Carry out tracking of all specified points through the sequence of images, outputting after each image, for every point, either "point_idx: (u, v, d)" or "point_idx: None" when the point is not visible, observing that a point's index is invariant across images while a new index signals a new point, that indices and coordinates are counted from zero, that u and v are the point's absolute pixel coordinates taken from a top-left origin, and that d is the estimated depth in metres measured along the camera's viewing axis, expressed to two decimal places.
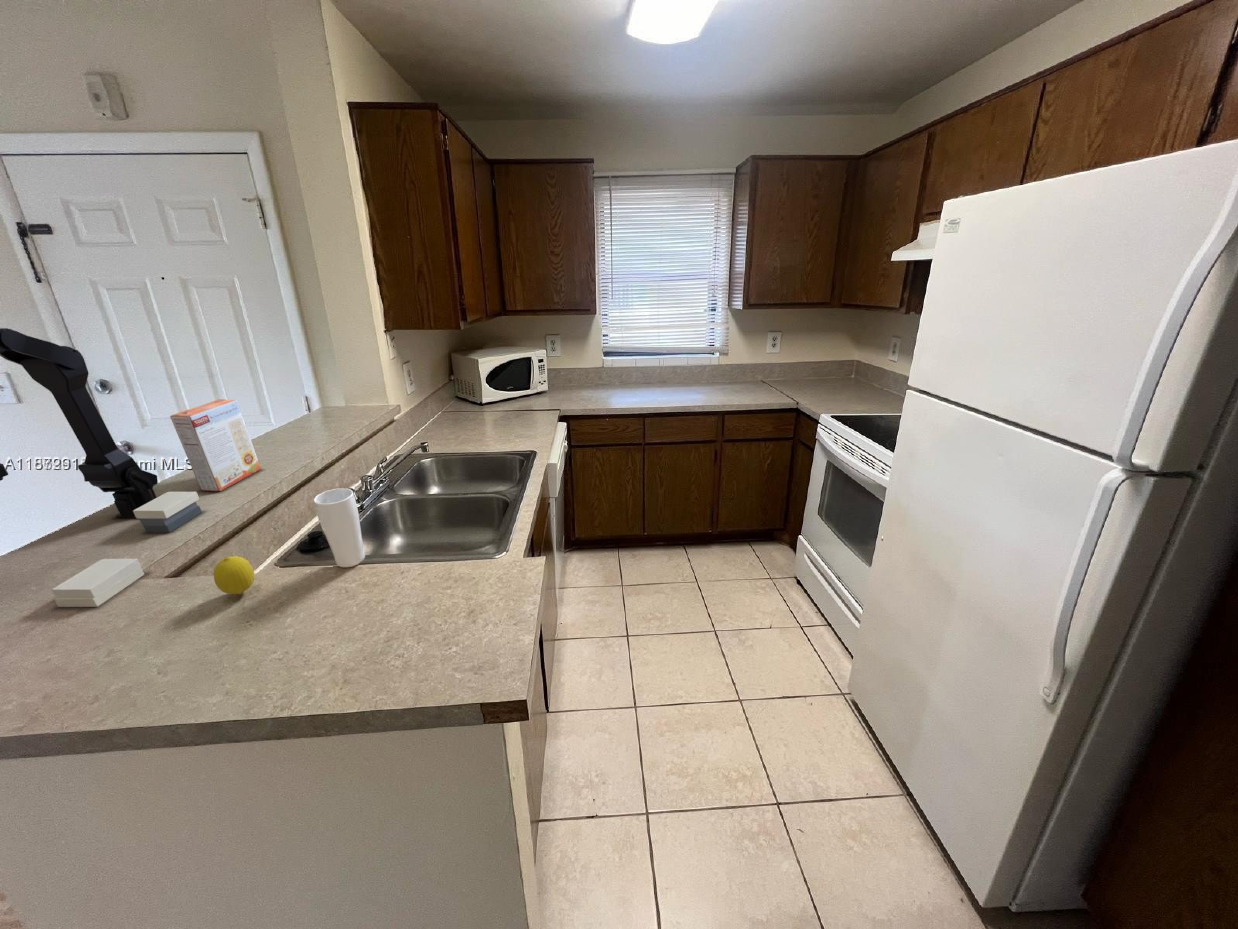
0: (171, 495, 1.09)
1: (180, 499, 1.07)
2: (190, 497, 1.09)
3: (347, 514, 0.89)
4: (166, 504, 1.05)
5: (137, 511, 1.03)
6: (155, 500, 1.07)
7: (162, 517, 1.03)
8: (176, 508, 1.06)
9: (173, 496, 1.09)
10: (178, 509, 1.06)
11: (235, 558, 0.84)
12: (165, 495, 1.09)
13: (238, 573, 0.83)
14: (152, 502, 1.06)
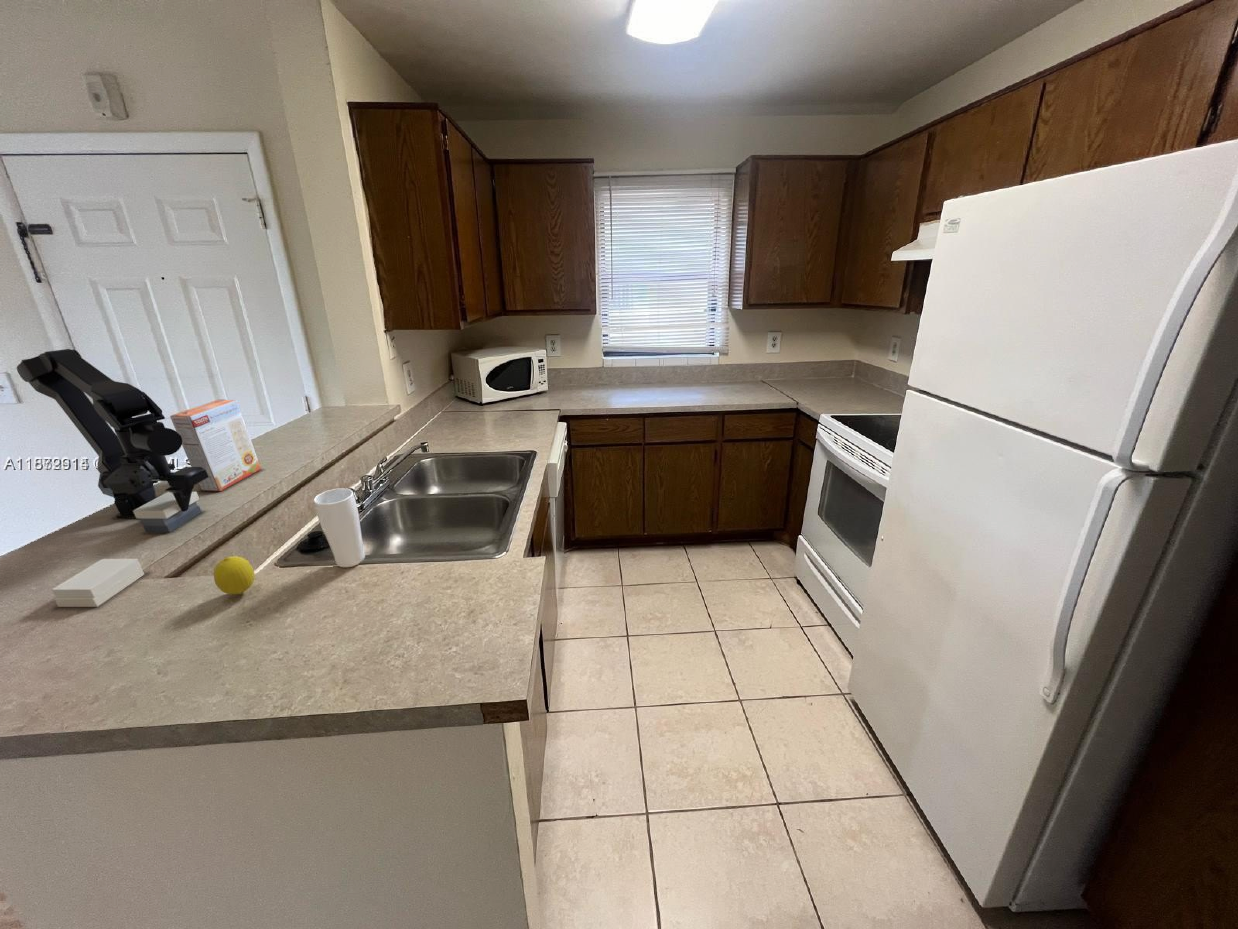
0: (171, 495, 1.09)
1: None
2: None
3: (347, 514, 0.89)
4: (166, 504, 1.05)
5: (137, 511, 1.03)
6: (155, 500, 1.07)
7: (162, 517, 1.03)
8: (176, 508, 1.06)
9: (173, 496, 1.09)
10: (178, 509, 1.06)
11: (235, 558, 0.84)
12: (165, 495, 1.09)
13: (238, 573, 0.83)
14: (152, 502, 1.06)
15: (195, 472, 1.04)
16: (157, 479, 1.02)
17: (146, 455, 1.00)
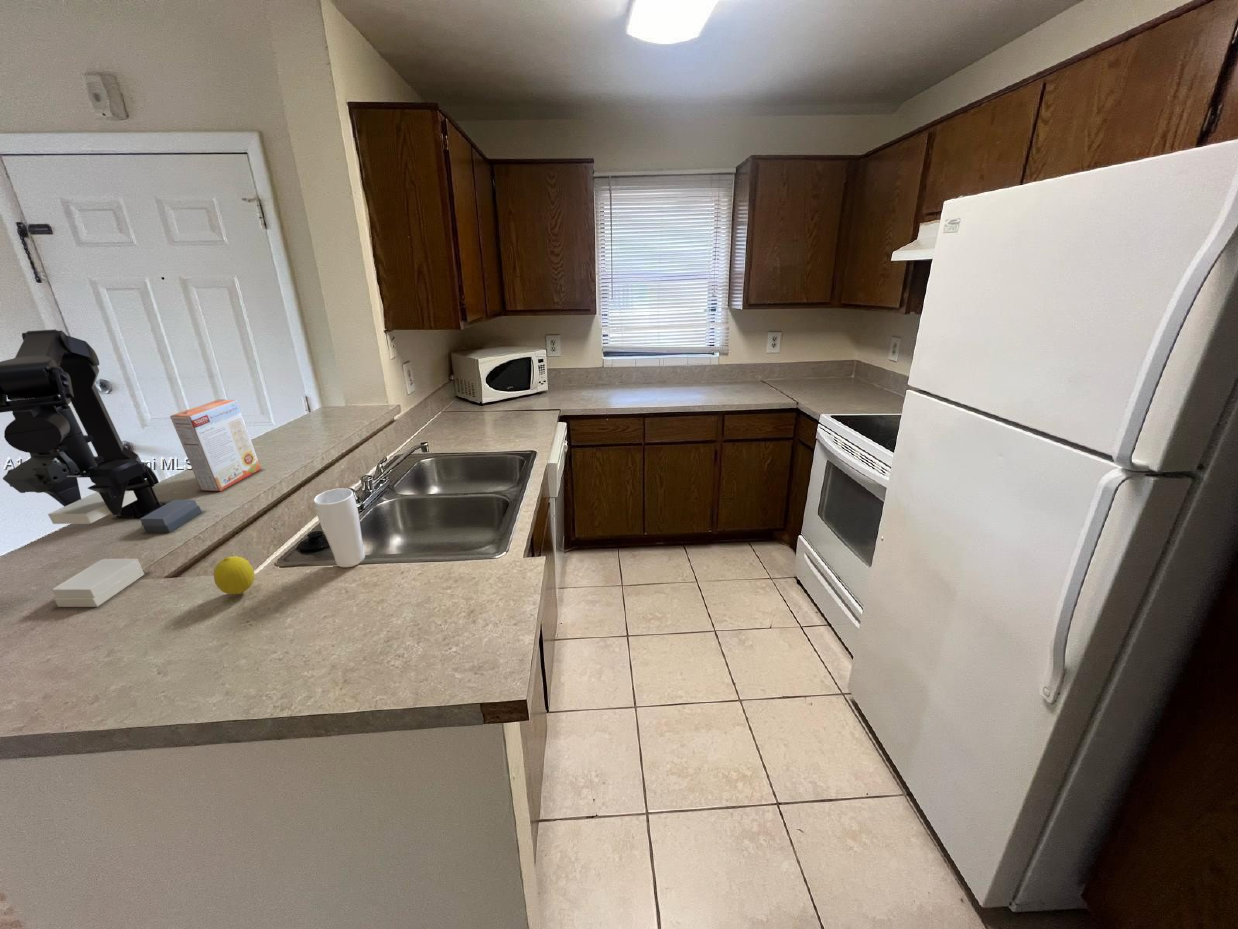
0: None
1: None
2: (124, 497, 0.89)
3: (347, 514, 0.89)
4: (92, 506, 0.85)
5: (53, 515, 0.83)
6: (79, 501, 0.87)
7: (84, 522, 0.83)
8: (104, 511, 0.86)
9: None
10: (107, 512, 0.86)
11: (235, 558, 0.84)
12: (93, 495, 0.89)
13: (238, 573, 0.83)
14: (75, 504, 0.86)
15: (126, 466, 0.84)
16: (78, 475, 0.83)
17: (61, 445, 0.80)
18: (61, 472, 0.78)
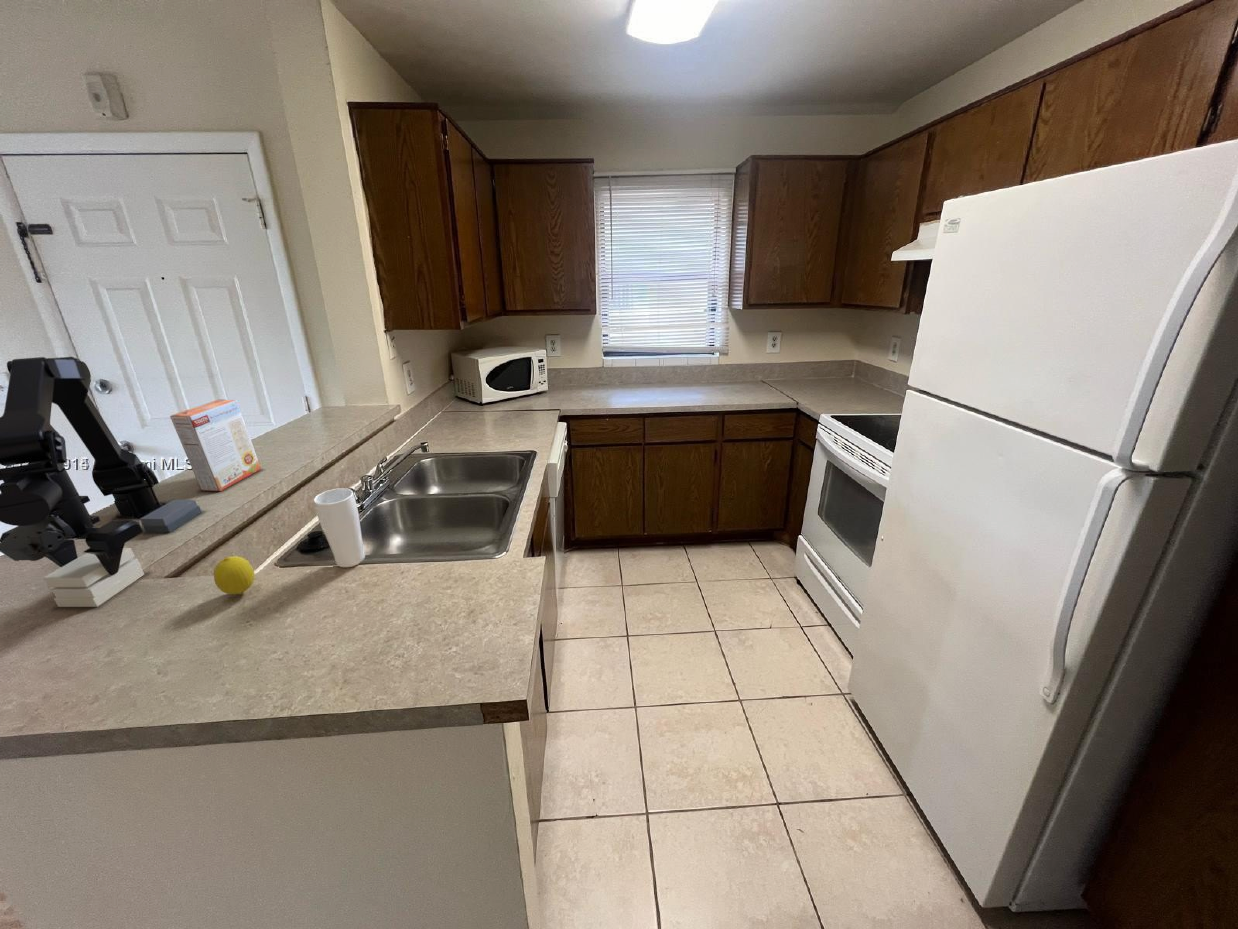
0: None
1: None
2: (122, 556, 0.87)
3: (347, 514, 0.89)
4: (88, 567, 0.83)
5: (49, 578, 0.81)
6: (75, 561, 0.85)
7: (80, 586, 0.81)
8: (101, 572, 0.84)
9: None
10: (104, 573, 0.84)
11: (235, 558, 0.84)
12: None
13: (238, 573, 0.83)
14: (71, 564, 0.84)
15: (123, 528, 0.82)
16: (74, 538, 0.81)
17: (56, 509, 0.78)
18: (56, 539, 0.76)
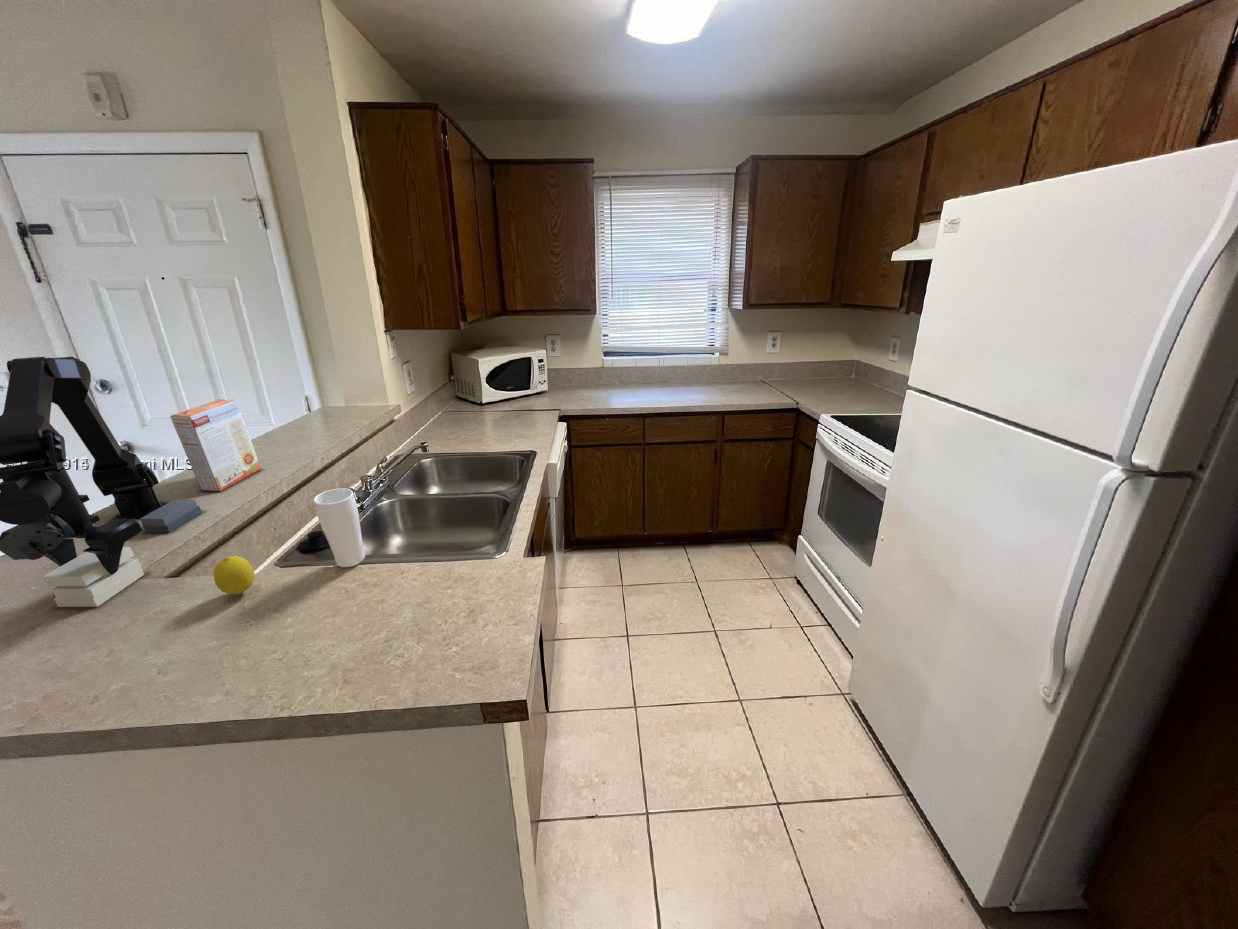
0: None
1: None
2: (121, 555, 0.87)
3: (347, 514, 0.89)
4: (88, 566, 0.83)
5: (48, 577, 0.81)
6: (75, 560, 0.85)
7: (80, 585, 0.81)
8: (100, 571, 0.84)
9: None
10: (103, 572, 0.84)
11: (235, 558, 0.84)
12: None
13: (238, 573, 0.83)
14: (70, 563, 0.84)
15: (123, 527, 0.82)
16: (73, 537, 0.80)
17: (56, 508, 0.78)
18: (55, 538, 0.76)
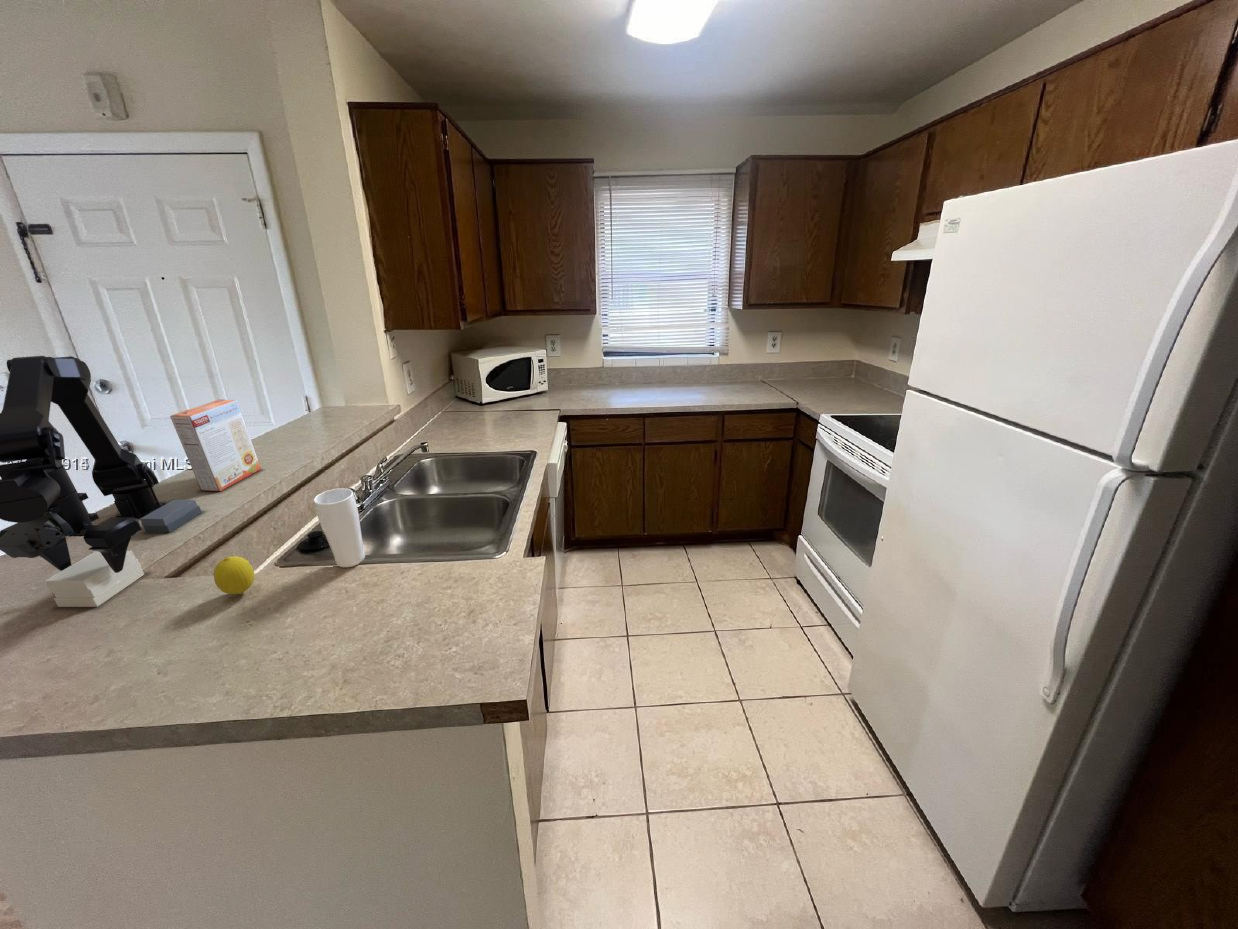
0: (99, 557, 0.87)
1: None
2: None
3: (347, 514, 0.89)
4: (90, 570, 0.83)
5: (50, 581, 0.81)
6: (77, 564, 0.85)
7: (82, 589, 0.82)
8: (102, 575, 0.84)
9: (101, 557, 0.87)
10: (105, 576, 0.84)
11: (235, 558, 0.84)
12: (91, 556, 0.87)
13: (238, 573, 0.83)
14: (72, 567, 0.84)
15: (122, 525, 0.82)
16: None
17: (54, 506, 0.78)
18: (54, 536, 0.76)
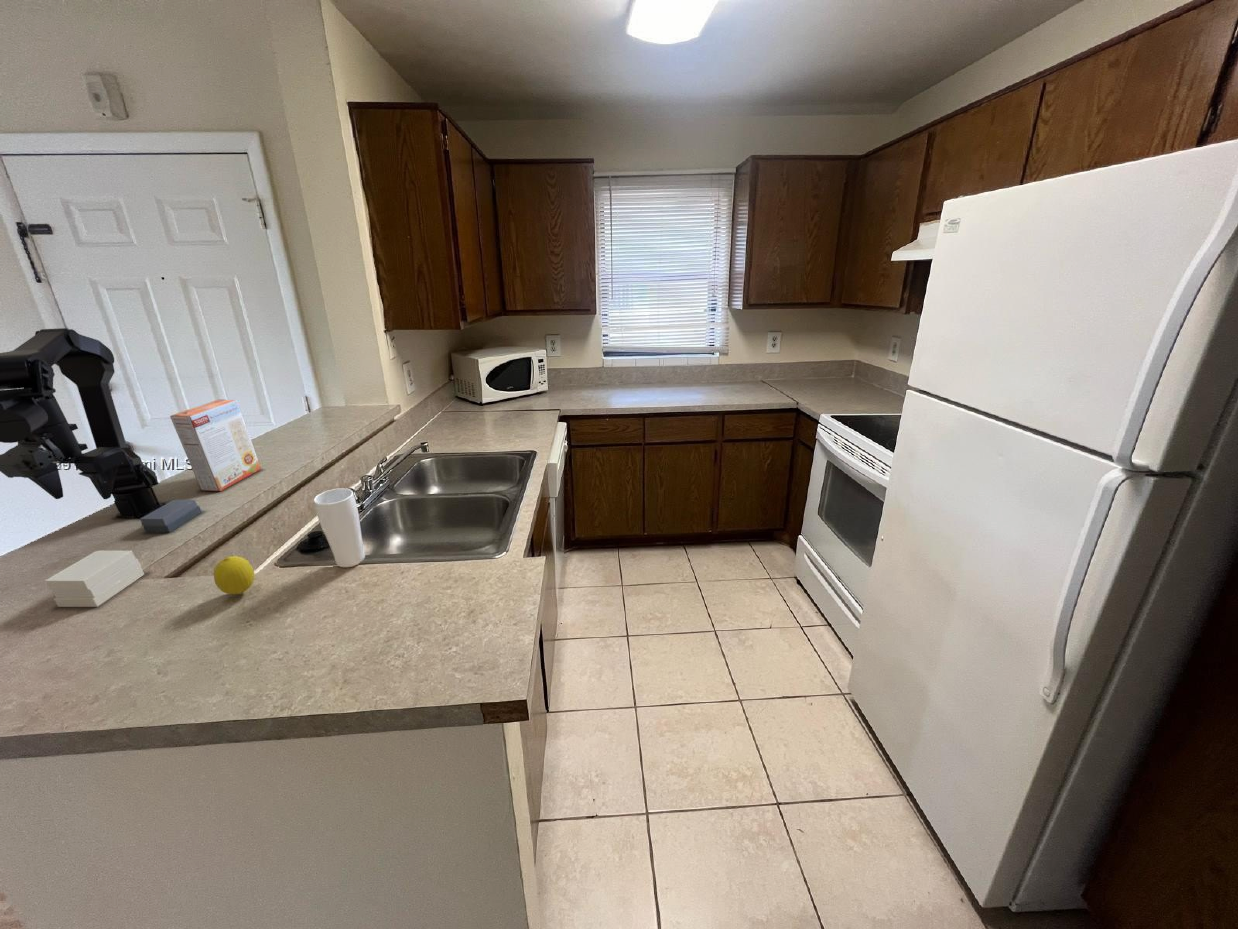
0: (99, 557, 0.87)
1: (109, 562, 0.85)
2: (123, 558, 0.87)
3: (347, 514, 0.89)
4: (90, 570, 0.83)
5: (50, 581, 0.81)
6: (77, 564, 0.85)
7: (82, 589, 0.82)
8: (102, 575, 0.84)
9: (101, 557, 0.87)
10: (105, 576, 0.84)
11: (235, 558, 0.84)
12: (91, 556, 0.87)
13: (238, 573, 0.83)
14: (72, 567, 0.84)
15: (109, 453, 0.89)
16: (57, 461, 0.88)
17: (47, 433, 0.85)
18: (47, 459, 0.83)
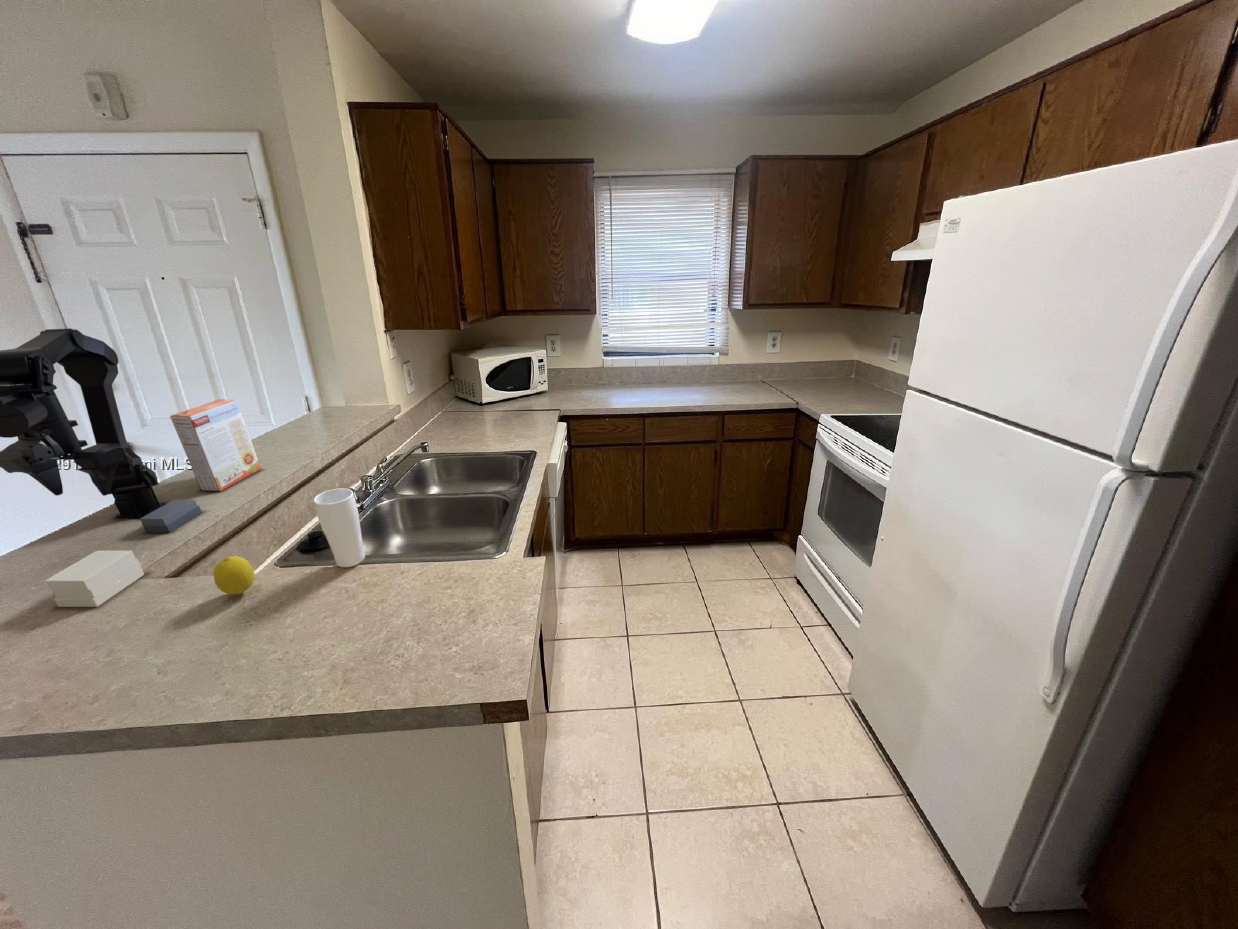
0: (99, 557, 0.87)
1: (109, 562, 0.85)
2: (123, 558, 0.87)
3: (347, 514, 0.89)
4: (90, 570, 0.83)
5: (50, 581, 0.81)
6: (77, 564, 0.85)
7: (82, 589, 0.82)
8: (102, 575, 0.84)
9: (101, 557, 0.87)
10: (105, 576, 0.84)
11: (235, 558, 0.84)
12: (91, 556, 0.87)
13: (238, 573, 0.83)
14: (72, 567, 0.84)
15: (108, 449, 0.90)
16: (56, 457, 0.88)
17: (47, 428, 0.86)
18: (46, 454, 0.84)
